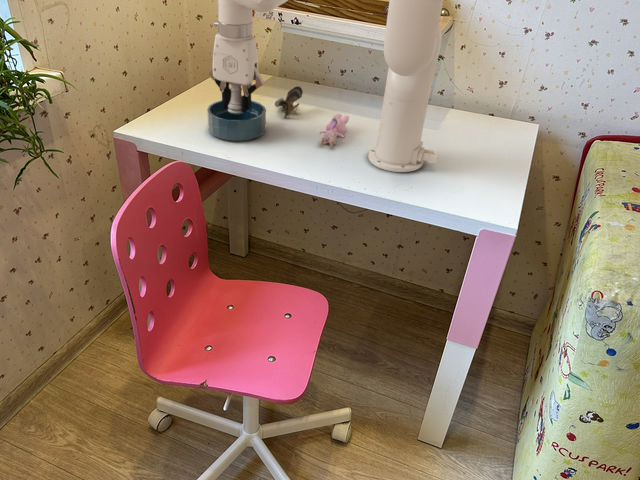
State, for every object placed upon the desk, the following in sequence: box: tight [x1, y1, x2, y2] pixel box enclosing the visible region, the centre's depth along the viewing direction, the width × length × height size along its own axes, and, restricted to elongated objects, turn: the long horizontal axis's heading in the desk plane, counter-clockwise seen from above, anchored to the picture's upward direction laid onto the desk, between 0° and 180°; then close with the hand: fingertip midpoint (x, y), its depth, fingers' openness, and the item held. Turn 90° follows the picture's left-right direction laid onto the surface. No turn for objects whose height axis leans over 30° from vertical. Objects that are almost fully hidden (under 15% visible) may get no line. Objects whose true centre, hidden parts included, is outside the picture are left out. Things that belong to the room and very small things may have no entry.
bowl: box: [206, 99, 267, 142], centre depth 138 cm, size 14×14×6 cm
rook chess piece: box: [227, 82, 244, 115], centre depth 134 cm, size 4×4×8 cm
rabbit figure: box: [319, 113, 350, 149], centre depth 137 cm, size 6×6×15 cm
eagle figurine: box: [274, 86, 304, 119], centre depth 148 cm, size 8×7×9 cm
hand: (236, 107), depth 136 cm, fingers closed on rook chess piece, 4 cm apart
